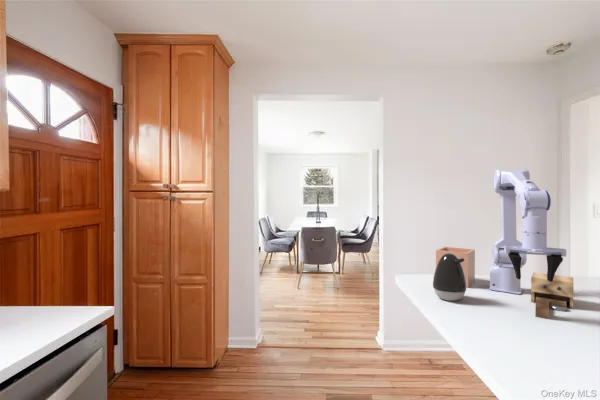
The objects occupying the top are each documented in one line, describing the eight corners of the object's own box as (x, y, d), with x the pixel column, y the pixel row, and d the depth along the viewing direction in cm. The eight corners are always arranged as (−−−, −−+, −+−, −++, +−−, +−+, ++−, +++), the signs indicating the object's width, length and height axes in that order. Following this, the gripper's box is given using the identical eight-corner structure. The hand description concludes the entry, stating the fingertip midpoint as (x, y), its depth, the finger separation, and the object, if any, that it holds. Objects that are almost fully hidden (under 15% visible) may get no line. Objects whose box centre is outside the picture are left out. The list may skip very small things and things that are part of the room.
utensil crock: (435, 282, 130) (436, 250, 130) (444, 277, 139) (444, 246, 139) (468, 288, 123) (468, 253, 123) (474, 281, 132) (474, 249, 132)
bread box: (530, 302, 106) (531, 277, 106) (533, 295, 113) (533, 272, 113) (573, 309, 99) (573, 283, 99) (572, 301, 107) (572, 277, 107)
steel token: (550, 310, 99) (550, 306, 99) (550, 307, 102) (550, 303, 102) (567, 313, 97) (567, 309, 97) (566, 309, 100) (566, 305, 100)
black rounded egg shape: (452, 305, 103) (453, 257, 103) (426, 296, 112) (426, 252, 112) (473, 300, 107) (474, 254, 107) (446, 292, 117) (446, 250, 117)
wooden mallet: (535, 316, 93) (535, 299, 93) (538, 302, 106) (538, 287, 106) (567, 322, 89) (567, 304, 89) (566, 307, 101) (566, 291, 101)
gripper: (508, 232, 93) (507, 280, 93) (571, 235, 88) (570, 285, 88) (502, 230, 100) (502, 275, 100) (561, 232, 94) (560, 279, 95)
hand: (533, 279), depth 94 cm, fingers open, 7 cm apart
